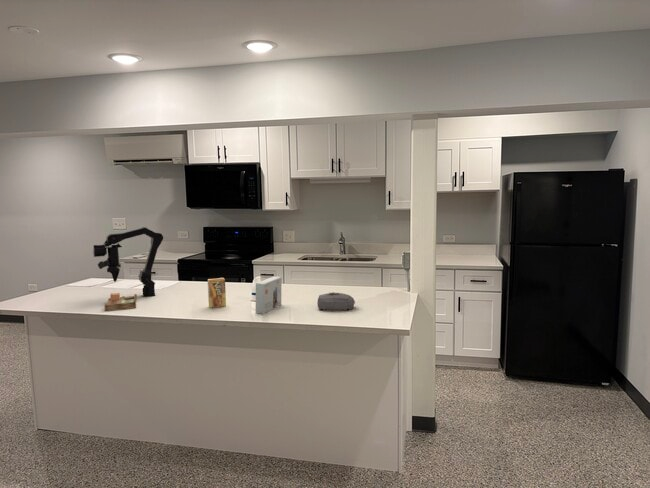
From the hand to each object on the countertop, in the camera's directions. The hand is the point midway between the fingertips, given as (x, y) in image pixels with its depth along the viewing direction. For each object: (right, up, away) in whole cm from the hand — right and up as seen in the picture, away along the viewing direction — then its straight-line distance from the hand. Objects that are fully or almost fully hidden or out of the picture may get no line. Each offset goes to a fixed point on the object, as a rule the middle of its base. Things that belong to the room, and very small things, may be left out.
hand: (115, 281), depth 266 cm
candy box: (+65, -12, -18) cm, 68 cm away
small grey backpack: (+130, -12, -25) cm, 133 cm away
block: (+3, -10, -6) cm, 12 cm away
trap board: (+9, -12, -11) cm, 19 cm away
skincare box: (+94, -13, -25) cm, 98 cm away
